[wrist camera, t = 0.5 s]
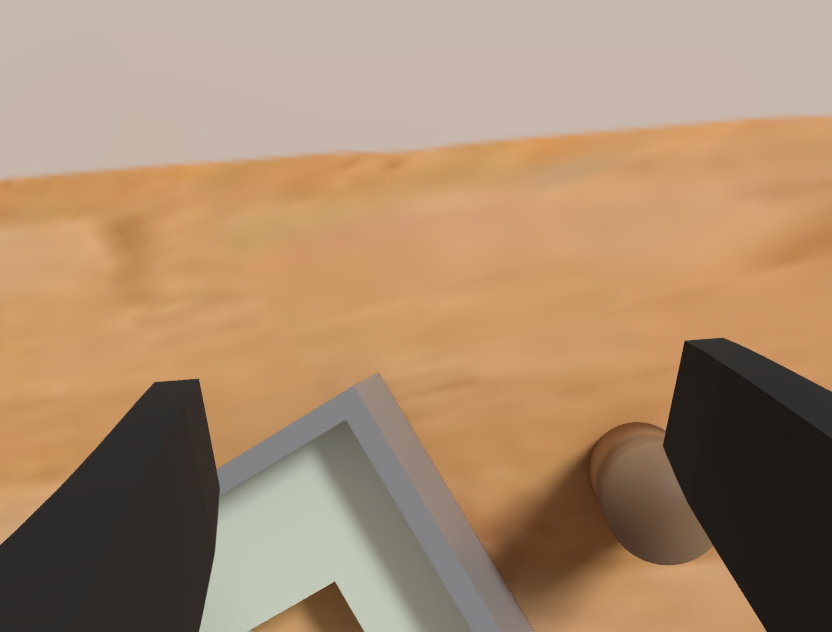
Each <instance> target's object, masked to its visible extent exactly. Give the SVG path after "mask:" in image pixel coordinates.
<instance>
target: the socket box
mask: <svg viewBox="0 0 832 632" xmlns="http://www.w3.org/2000/svg"><path fill="white" fill-rule="evenodd" d="M217 475H218V480H219V486H220V494H219V509H218V523H217V535H216V547H215V555H214V560H213V566H212V571H211V576H210V581H209V586H208V591H207V596H206V601H205V606H204V611H203V616H202V620H201V625H200V630H199V632H253V631H252V629H253V628H254V627H256V626H258V625H260V624H261V623H263V622H265V621H267V620H268V619H270V618H272V617H274V616H275V615H277V614H279V613H281V612H282V611H284V610H286V609H288V608H289V607H291V606H293V605H295V604H296V603H298V602H300V601H302V600H303V599H305V598H307V597H309V596H310V595H312V594H314V593H315V592H317V591H319V590H321V589H322V588H324V587H326V586H328V585H329V584H331V583H333V582H335V583H336V584H337V586H338V588H339V589H340V591H341V593H342V594H343V596H344V598H345V600H346V601H347V603H348V605H349V606H350V608H351V610H352V611H353V613H354V615H355V617H356V618H357V620H358V622H359V623H360V625H361V627H362V628H363V630H364V632H534V630H533V628H532V627H531V625H530V623H529V622H528V620H527V618H526V617H525V615H524V613H523V612H522V610H521V608H520V607H519V605H518V603H517V602H516V600H515V598H514V597H513V595H512V593H511V592H510V590H509V588H508V587H507V585H506V583H505V582H504V580H503V578H502V577H501V575H500V574H499V572H498V570H497V569H496V567H495V565H494V564H493V562H492V560H491V559H490V557H489V555H488V554H487V552H486V550H485V549H484V547H483V545H482V544H481V542H480V540H479V539H478V537H477V535H476V534H475V532H474V530H473V529H472V527H471V525H470V524H469V522H468V520H467V519H466V517H465V515H464V514H463V512H462V510H461V509H460V507H459V505H458V504H457V502H456V500H455V499H454V497H453V495H452V494H451V492H450V490H449V489H448V487H447V485H446V484H445V482H444V480H443V479H442V477H441V476H440V474H439V472H438V471H437V469H436V467H435V466H434V464H433V462H432V461H431V459H430V457H429V456H428V454H427V452H426V451H425V449H424V447H423V446H422V444H421V442H420V441H419V439H418V437H417V436H416V434H415V432H414V431H413V429H412V427H411V426H410V424H409V422H408V421H407V419H406V417H405V416H404V414H403V412H402V411H401V409H400V407H399V406H398V404H397V402H396V401H395V399H394V397H393V396H392V394H391V392H390V391H389V389H388V387H387V386H386V384H385V383H384V381H383V379H382V378H381V376H380V374H379V373H377V374H375V375H373V376H371V377H369V378H367V379H365V380H364V381H362V382H360V383H358V384H356V385H354V386H352V387H351V388H349V389H348V390H346V391H344V392H343V393H341V394H339V395H338V396H336V397H334V398H333V399H331V400H330V401H328V402H326V403H325V404H323V405H321V406H320V407H318V408H316V409H315V410H313V411H312V412H310V413H308V414H307V415H305V416H303V417H302V418H300V419H298V420H297V421H295V422H294V423H292V424H290V425H289V426H287V427H285V428H284V429H282V430H280V431H279V432H277V433H276V434H274V435H272V436H271V437H269V438H267V439H266V440H264V441H262V442H261V443H259V444H257V445H256V446H254V447H253V448H251V449H249V450H248V451H246V452H244V453H243V454H241V455H239V456H238V457H236V458H235V459H233V460H231V461H230V462H228V463H226V464H225V465H223V466H221V467H220V468H218V469H217Z"/></svg>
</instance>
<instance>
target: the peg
mask: <svg viewBox="0 0 832 632" xmlns="http://www.w3.org/2000/svg"><path fill="white" fill-rule="evenodd" d="M665 433H666V431H665V430H663V429H661V428H659V427H657V426H655V425H651V424H647V423H640V422H634V423H627V424H623V425H620V426H617V427H615V428H613V429H611V430H610V431H608V432H607V433H606V434H604V435H603V436H602V437H601V438H600V440H599V441H598V442H597V444H596V445H595V447H594V449H593V451H592V453H591V457H590V461H589V477H590V482H591V485H592V487H593V490H594V492H595V494H596V496H597V499H598V501H599V503H600V505H601V508H602V510H603V512H604V514H605V517H606V519H607V521H608V523H609V526H610V528H611V530H612V532H613V534H614V536H615V537H616V538H617V540H618V541H619V542H620V543H621V545H622V546H623V547H624V548H625V549H627V550H628V551H629V552H630V553H632V554H633V555H635V556H636V557H638V558H640V559H642V560H644V561H647V562H650V563H654V564H659V565H677V564H683V563H686V562H689V561H692V560H694V559H696V558H698V557H700V556H701V555H703V554H704V553H705V552H707V551H708V550H709V549H710V548H711V547H712V546H713V544H712V543H711V541H710V539H709V538H708V536H707V534H706V533H705V531H704V530H703V528H702V526H701V525H700V523H699V521H698V520H697V518H696V516H695V515H694V513H693V511H692V510H691V508H690V506H689V504H688V503H687V501H686V498H685V496H684V494H683V492H682V490H681V488H680V485H679V483H678V481H677V479H676V477H675V474H674V472H673V470H672V467H671V465H670V462H669V460H668V458H667V455H666V453H665V450H664V448H663V442H664V437H665Z"/></svg>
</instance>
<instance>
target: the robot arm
mask: <svg viewBox="0 0 832 632" xmlns="http://www.w3.org/2000/svg"><path fill="white" fill-rule="evenodd" d="M663 448H664V450H665V453H666V455H667V458H668V460H669V462H670V465H671V467H672V470H673V472H674V474H675V477H676V479H677V481H678V483H679V485H680V488H681V490H682V492H683V494H684V496H685V498H686V501H687V503H688V504H689V506H690V508H691V510H692V511H693V513H694V515H695V516H696V518H697V520H698V521H699V523H700V525H701V526H702V528H703V530H704V531H705V533H706V534H707V536H708V538H709V539H710V541H711V543H712V544H713V546H714V548H715V549H716V551H717V552H718V554H719V556H720V557H721V559H722V560H723V562H724V564H725V565H726V567H727V568H728V570H729V572H730V573H731V575H732V576H733V578H734V580H735V581H736V583H737V584H738V586H739V588H740V589H741V591H742V592H743V594H744V596H745V597H746V599H747V600H748V602H749V604H750V605H751V607H752V608H753V610H754V612H755V613H756V615H757V616H758V618H759V620H760V621H761V623H762V625H763V626H764V628H765V629H766V631H767V632H832V392H831V391H829V390H827V389H825V388H823V387H821V386H819V385H817V384H816V383H814V382H812V381H810V380H808V379H806V378H804V377H802V376H800V375H798V374H797V373H795V372H793V371H791V370H789V369H787V368H785V367H783V366H781V365H779V364H777V363H775V362H774V361H772V360H770V359H768V358H766V357H764V356H762V355H760V354H758V353H756V352H754V351H752V350H750V349H747V348H745V347H743V346H741V345H739V344H737V343H734V342H732V341H729V340H727V339H725V338H715V339H702V340H690V341H685V342H684V347H683V352H682V357H681V361H680V366H679V371H678V376H677V380H676V385H675V390H674V395H673V399H672V404H671V409H670V414H669V418H668V423H667V428H666V433H665V437H664V442H663ZM219 494H220V486H219V480H218V475H217V470H216V465H215V460H214V455H213V449H212V444H211V439H210V434H209V429H208V424H207V418H206V413H205V408H204V403H203V398H202V393H201V387H200V382H199V379H190V380H178V381H165V382H154V384H153V385H152V386H151V387H150V388H149V389H148V390H147V391H146V392H145V393H144V394H143V395H142V397H141V398H140V399H139V400H138V401H137V402H136V403H135V404H134V406H133V407H132V408H131V409H130V410H129V411H128V412H127V414H126V415H125V416H124V417H123V418H122V419H121V420H120V422H119V423H118V424H117V425H116V426H115V427H114V428H113V430H112V431H111V432H110V433H109V434H108V435H107V436H106V438H105V439H104V440H103V441H102V442H101V443H100V444H99V445H98V447H97V448H96V449H95V450H94V451H93V452H92V453H91V454H90V455H89V456H88V457H87V459H86V460H85V461H84V462H83V463H82V464H81V465H80V466H79V467H78V468H77V469H76V470H75V472H74V473H73V474H72V475H71V476H70V477H69V478H68V479H67V480H66V481H65V482H64V483H63V484H62V485H61V487H60V488H59V489H58V490H57V491H56V492H55V493H54V494H53V495H52V496H51V497H50V498H49V499H47V500H46V501H45V502H44V503H43V504H42V505H41V506H40V507H39V508H38V509H37V510H36V511H35V512H34V513H33V514H32V515H31V516H30V517H29V518H28V519H27V520H26V521H25V522H24V523H23V524H22V525H21V526H20V527H19V528H18V529H17V530H16V531H15V532H14V533H13V534H12V535H11V536H10V537H9V538H7V539H6V540H5V541H4V542H3V543H2V544H1V545H0V632H199V630H200V625H201V620H202V616H203V611H204V606H205V601H206V596H207V591H208V586H209V581H210V576H211V571H212V566H213V560H214V555H215V547H216V535H217V523H218V509H219Z"/></svg>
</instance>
